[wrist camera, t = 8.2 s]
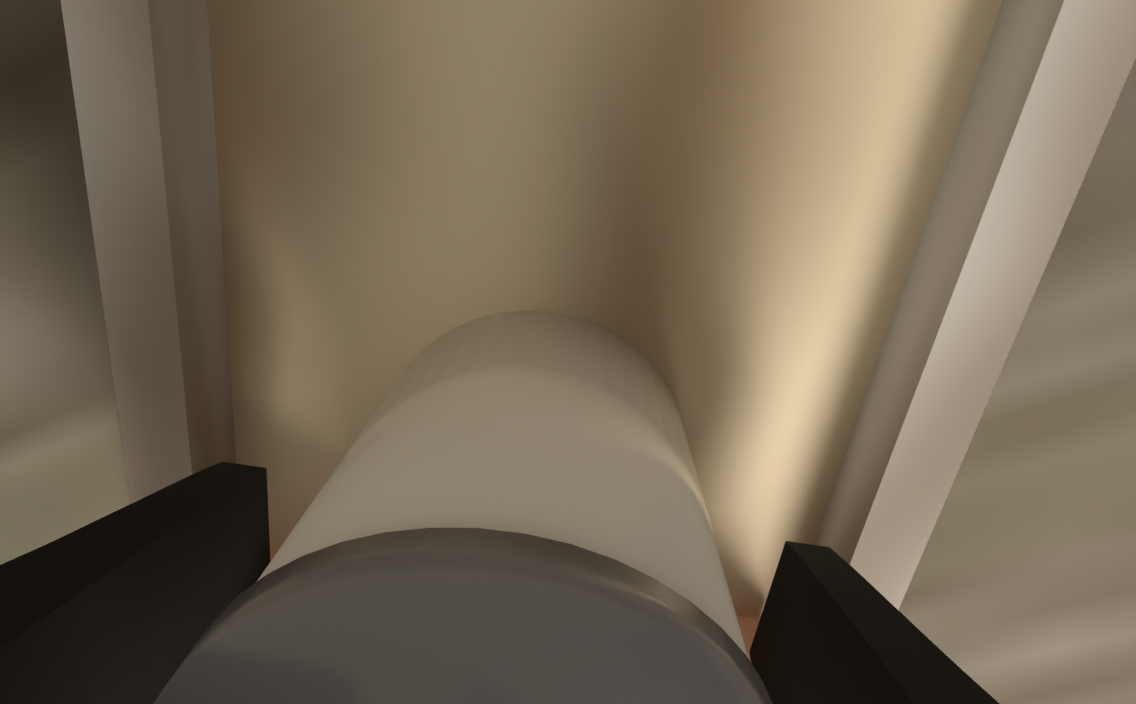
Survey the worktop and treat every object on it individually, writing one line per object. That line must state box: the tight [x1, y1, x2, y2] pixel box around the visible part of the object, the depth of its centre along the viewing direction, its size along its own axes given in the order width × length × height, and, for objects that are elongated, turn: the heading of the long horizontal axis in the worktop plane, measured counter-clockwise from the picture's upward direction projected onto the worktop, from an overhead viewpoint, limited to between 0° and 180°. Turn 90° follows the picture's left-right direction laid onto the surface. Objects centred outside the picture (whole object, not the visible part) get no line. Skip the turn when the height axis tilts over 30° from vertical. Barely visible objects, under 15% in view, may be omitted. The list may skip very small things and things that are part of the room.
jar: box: [153, 311, 773, 704], centre depth 8 cm, size 5×5×6 cm
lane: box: [61, 0, 1136, 619], centre depth 9 cm, size 12×20×5 cm, turn 172°
